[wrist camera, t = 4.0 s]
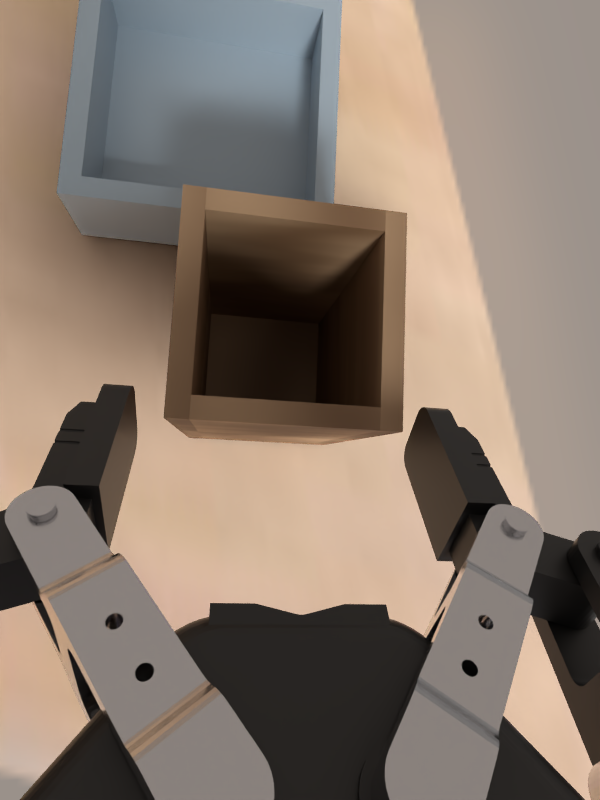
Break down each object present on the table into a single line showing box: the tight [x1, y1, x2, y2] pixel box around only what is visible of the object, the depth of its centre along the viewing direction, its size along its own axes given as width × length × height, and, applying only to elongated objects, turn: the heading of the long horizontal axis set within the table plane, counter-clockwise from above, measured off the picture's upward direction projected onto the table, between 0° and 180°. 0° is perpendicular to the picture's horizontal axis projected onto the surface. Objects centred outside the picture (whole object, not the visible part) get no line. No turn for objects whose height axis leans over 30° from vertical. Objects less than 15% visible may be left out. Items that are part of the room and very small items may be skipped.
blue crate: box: [57, 0, 342, 245], centre depth 22 cm, size 11×11×4 cm
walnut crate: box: [164, 184, 407, 445], centre depth 18 cm, size 6×6×10 cm
